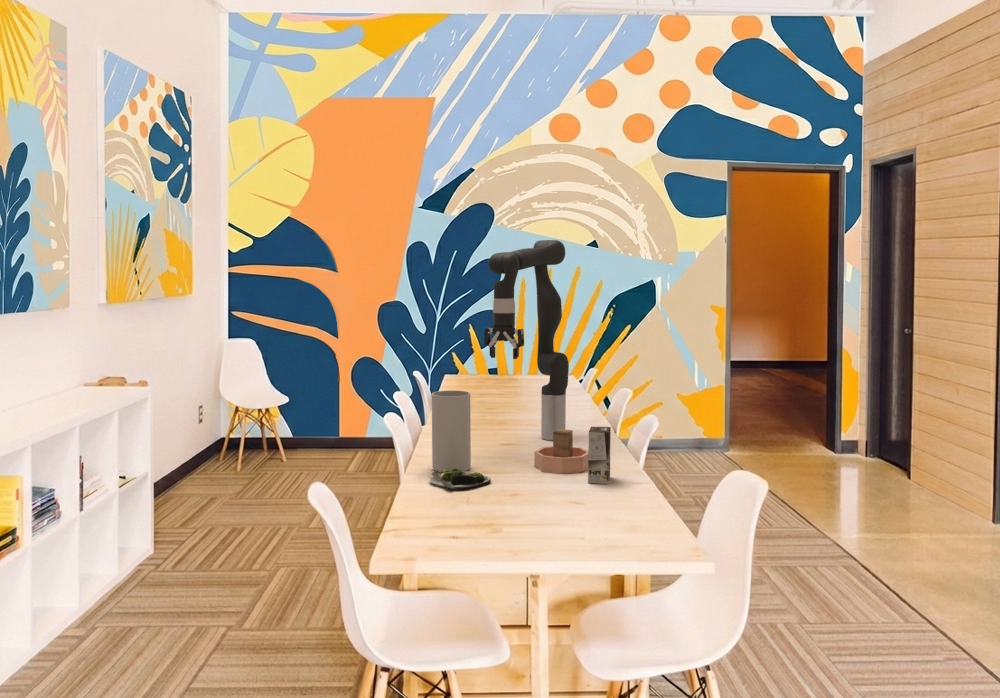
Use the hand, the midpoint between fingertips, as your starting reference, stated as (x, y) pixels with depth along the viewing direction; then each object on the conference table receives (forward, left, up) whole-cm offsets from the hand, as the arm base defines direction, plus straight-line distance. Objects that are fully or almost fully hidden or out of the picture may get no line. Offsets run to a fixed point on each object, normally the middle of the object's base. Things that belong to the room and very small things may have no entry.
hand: (504, 358), depth 286 cm
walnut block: (+6, +25, -33) cm, 42 cm away
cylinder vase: (+25, -7, -34) cm, 43 cm away
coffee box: (+17, +41, -34) cm, 56 cm away
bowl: (+6, +24, -34) cm, 42 cm away
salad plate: (+39, +4, -35) cm, 52 cm away
